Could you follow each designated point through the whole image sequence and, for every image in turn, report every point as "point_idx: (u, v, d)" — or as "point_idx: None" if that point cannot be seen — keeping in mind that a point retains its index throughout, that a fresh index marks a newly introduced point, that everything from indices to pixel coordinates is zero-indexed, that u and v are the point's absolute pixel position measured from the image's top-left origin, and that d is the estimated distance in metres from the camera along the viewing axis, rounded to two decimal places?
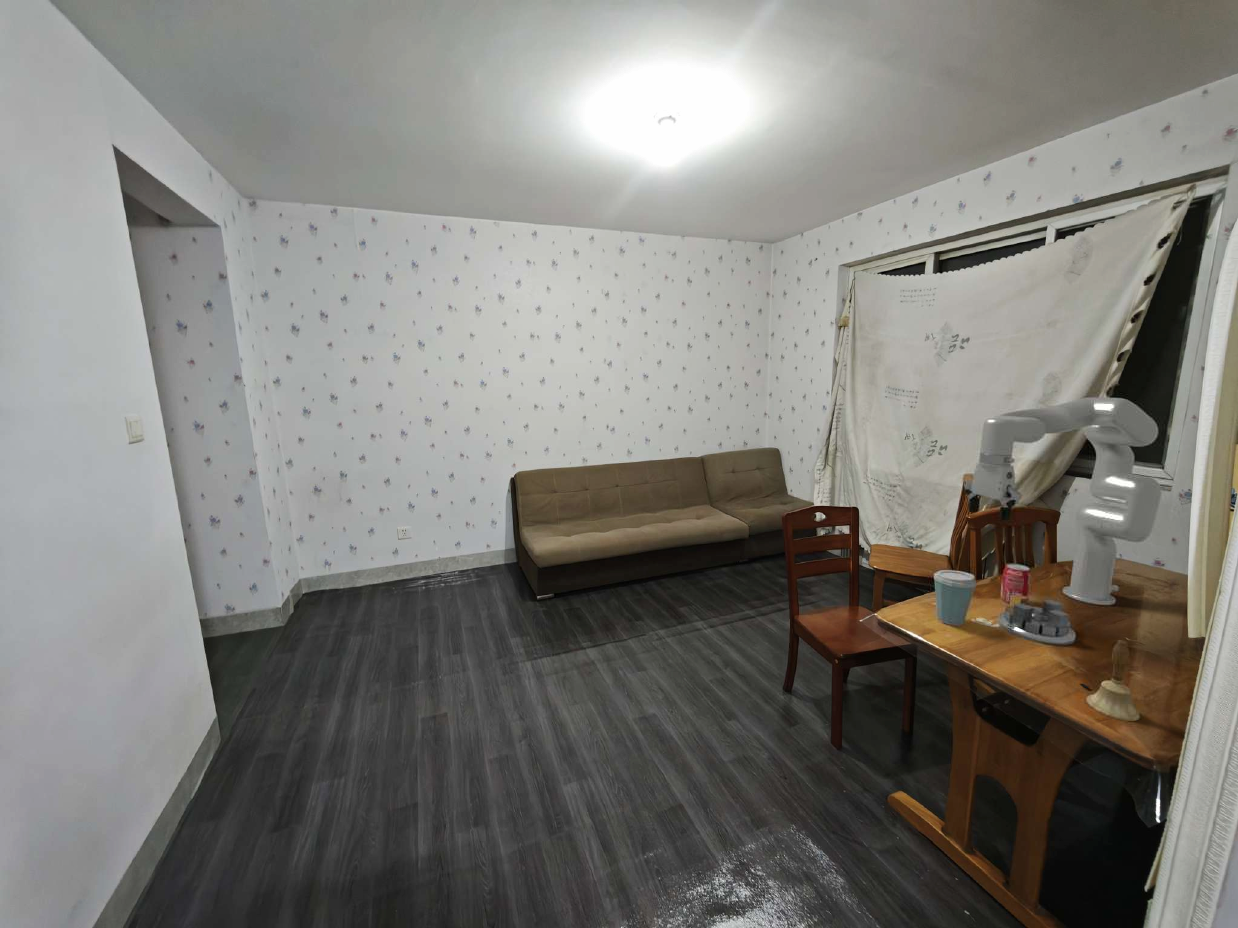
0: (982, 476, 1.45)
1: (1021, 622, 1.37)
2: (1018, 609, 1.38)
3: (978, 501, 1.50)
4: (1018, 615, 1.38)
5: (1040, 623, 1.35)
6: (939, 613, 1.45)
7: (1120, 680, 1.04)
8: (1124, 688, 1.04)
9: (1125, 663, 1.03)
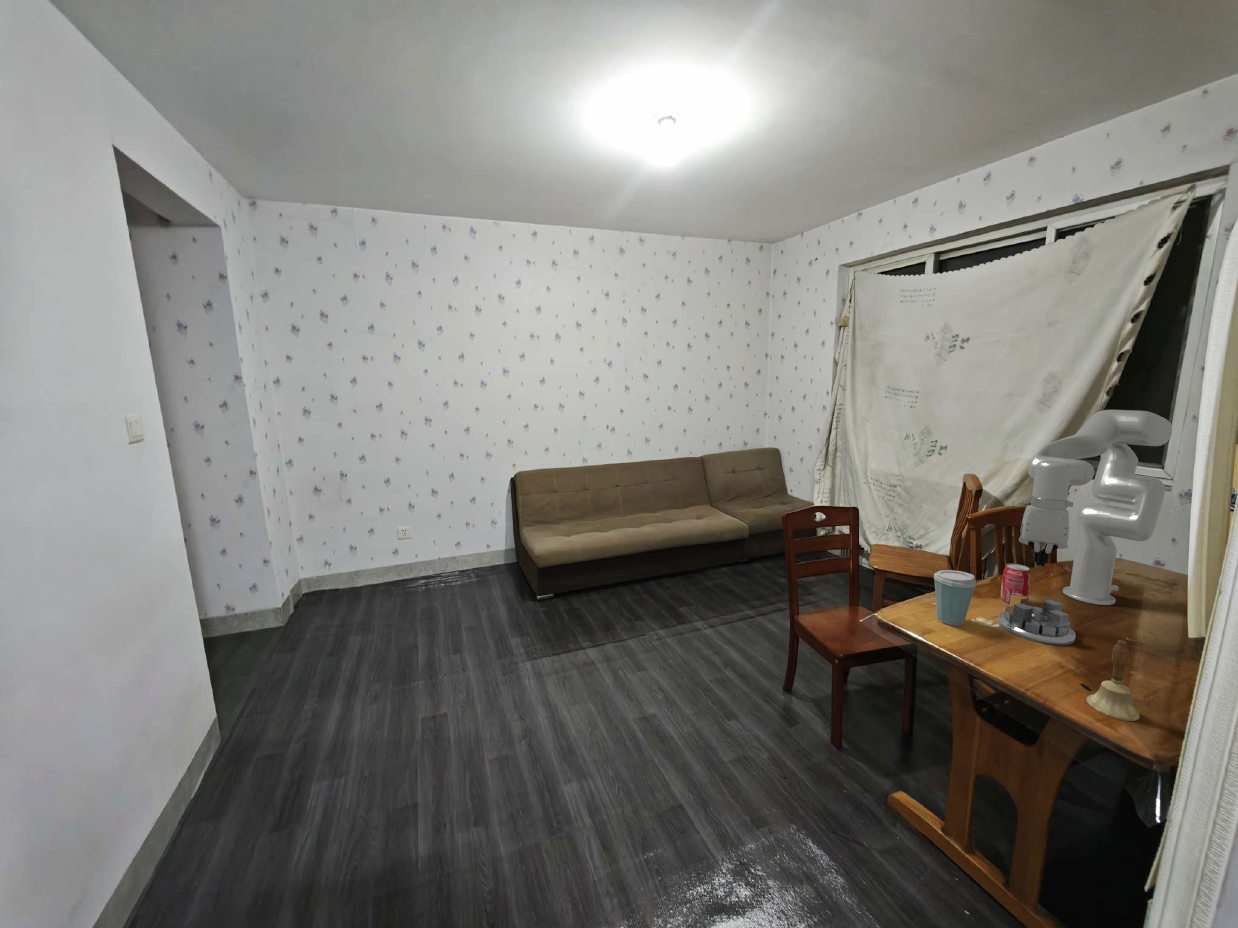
0: (1041, 522, 1.38)
1: (1021, 622, 1.37)
2: (1018, 609, 1.38)
3: None
4: (1018, 615, 1.38)
5: (1040, 623, 1.35)
6: (939, 613, 1.45)
7: (1120, 680, 1.04)
8: (1124, 688, 1.04)
9: (1125, 663, 1.03)
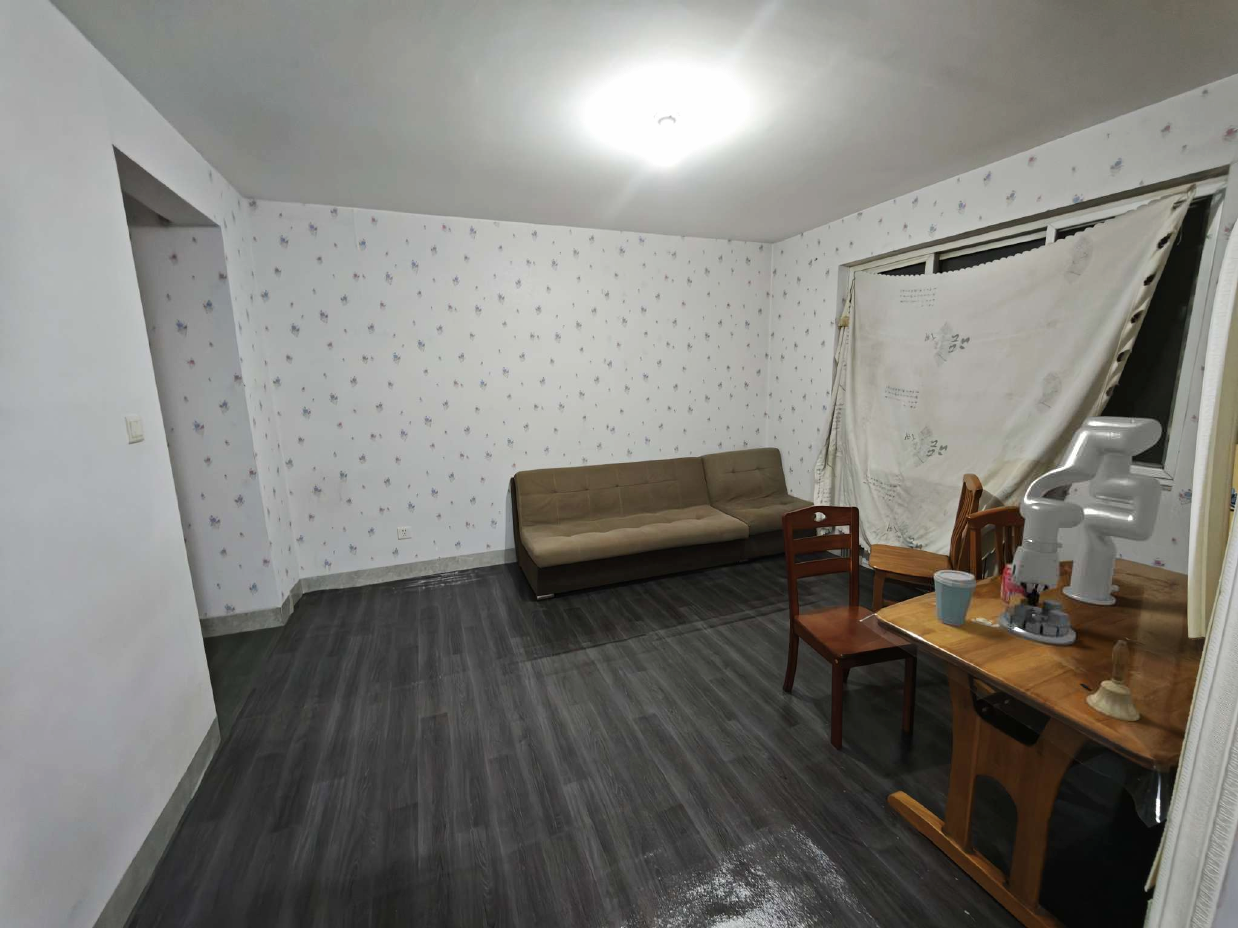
0: (1035, 564, 1.40)
1: (1021, 623, 1.37)
2: (1019, 609, 1.38)
3: None
4: (1019, 615, 1.38)
5: (1040, 623, 1.35)
6: (939, 613, 1.45)
7: (1120, 680, 1.04)
8: (1124, 688, 1.04)
9: (1125, 663, 1.03)
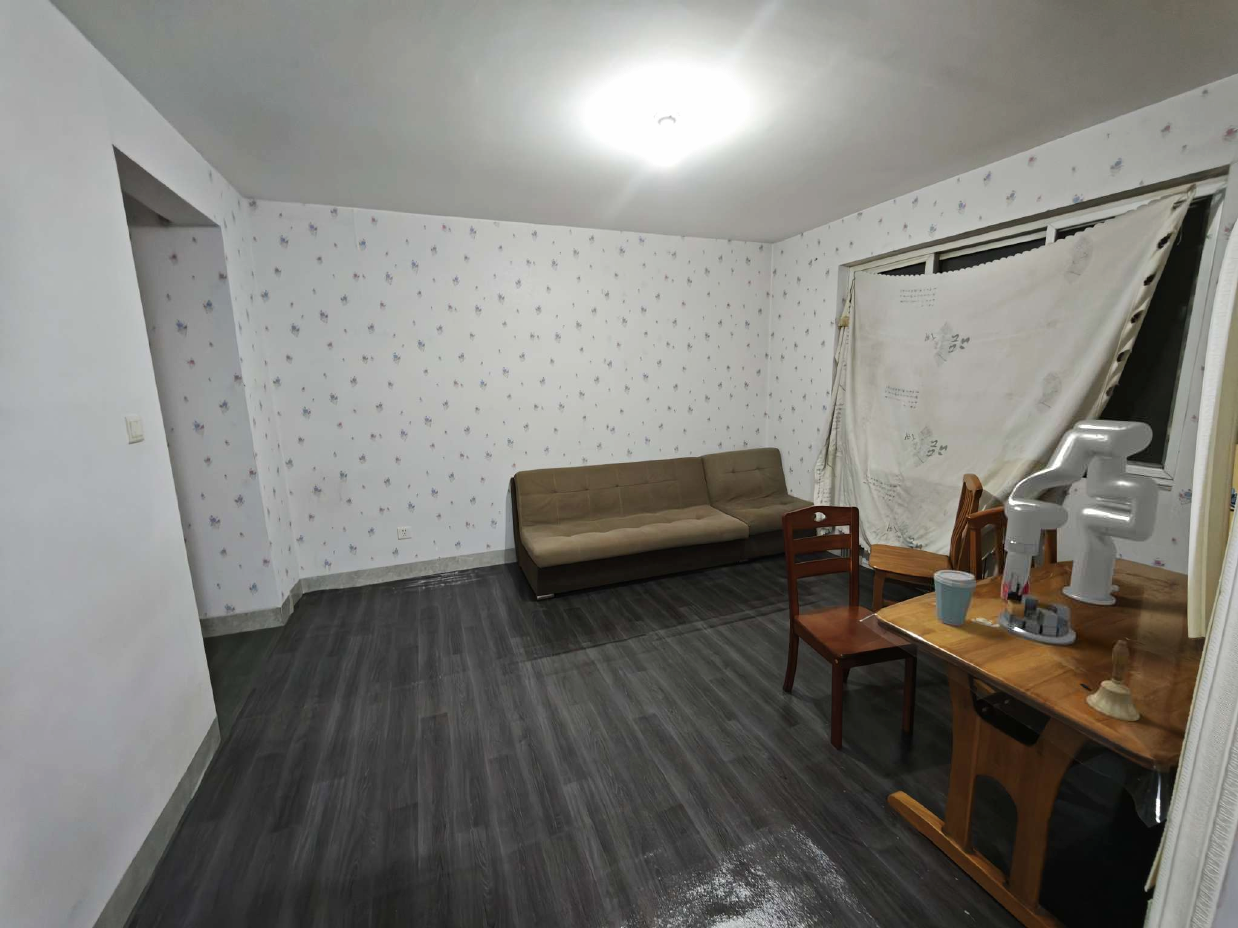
0: (1029, 566, 1.39)
1: (1054, 630, 1.33)
2: (1050, 617, 1.33)
3: None
4: (1050, 623, 1.33)
5: (1059, 623, 1.35)
6: (939, 613, 1.45)
7: (1120, 680, 1.04)
8: (1124, 688, 1.04)
9: (1125, 663, 1.03)
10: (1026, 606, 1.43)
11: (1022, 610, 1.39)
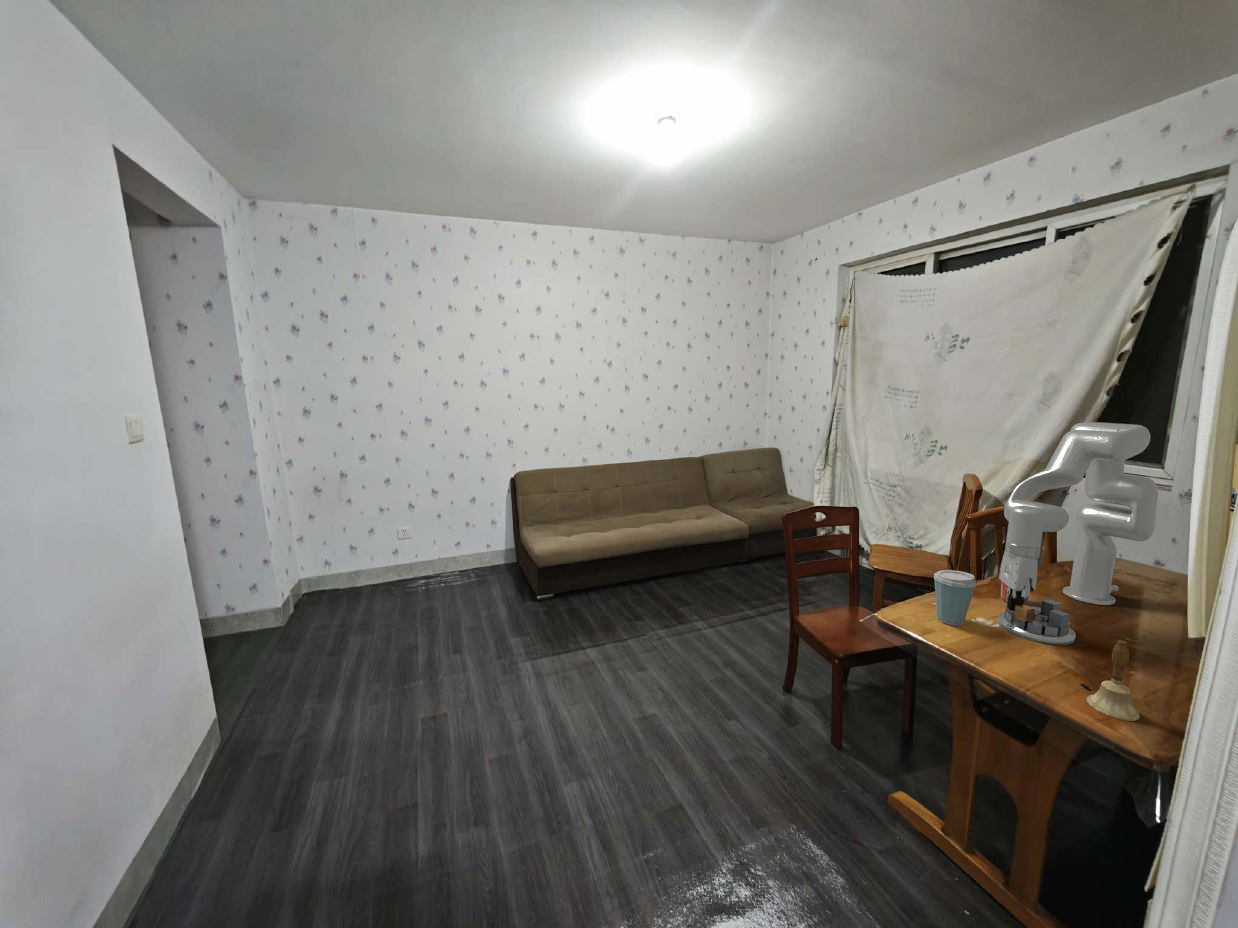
0: None
1: (1067, 629, 1.33)
2: (1065, 617, 1.33)
3: None
4: (1064, 623, 1.33)
5: None
6: (939, 613, 1.45)
7: (1120, 680, 1.04)
8: (1124, 688, 1.04)
9: (1125, 663, 1.03)
10: None
11: (1032, 614, 1.37)
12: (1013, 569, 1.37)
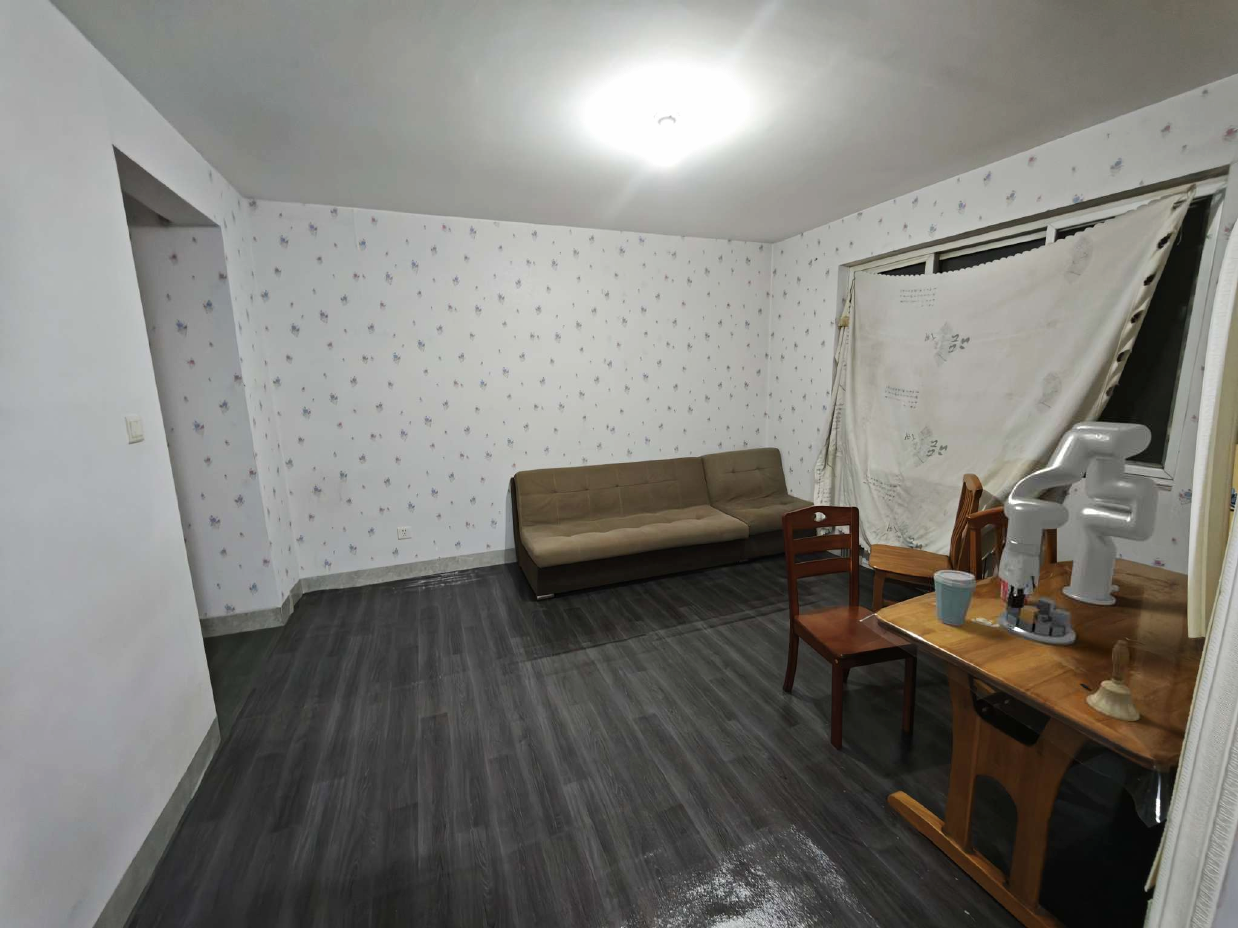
0: None
1: (1069, 627, 1.34)
2: (1068, 616, 1.33)
3: None
4: (1067, 622, 1.33)
5: None
6: (939, 613, 1.45)
7: (1120, 680, 1.04)
8: (1124, 688, 1.04)
9: (1125, 663, 1.03)
10: (1019, 608, 1.42)
11: (1037, 615, 1.36)
12: (1015, 567, 1.37)
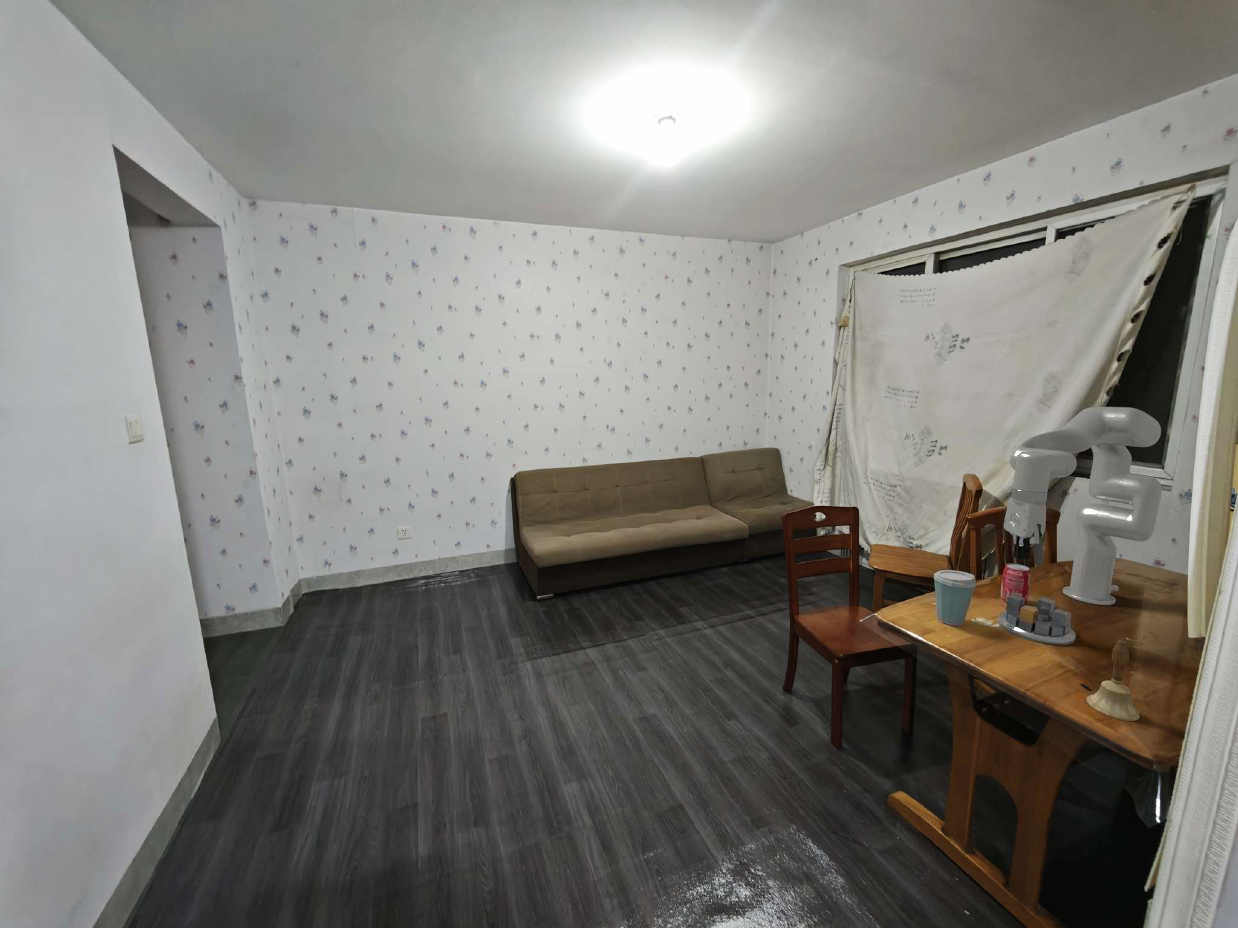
0: None
1: (1069, 627, 1.34)
2: (1068, 616, 1.33)
3: None
4: (1067, 622, 1.33)
5: None
6: (939, 613, 1.45)
7: (1120, 680, 1.04)
8: (1124, 688, 1.04)
9: (1125, 663, 1.03)
10: (1019, 608, 1.42)
11: (1037, 615, 1.36)
12: (1021, 516, 1.34)
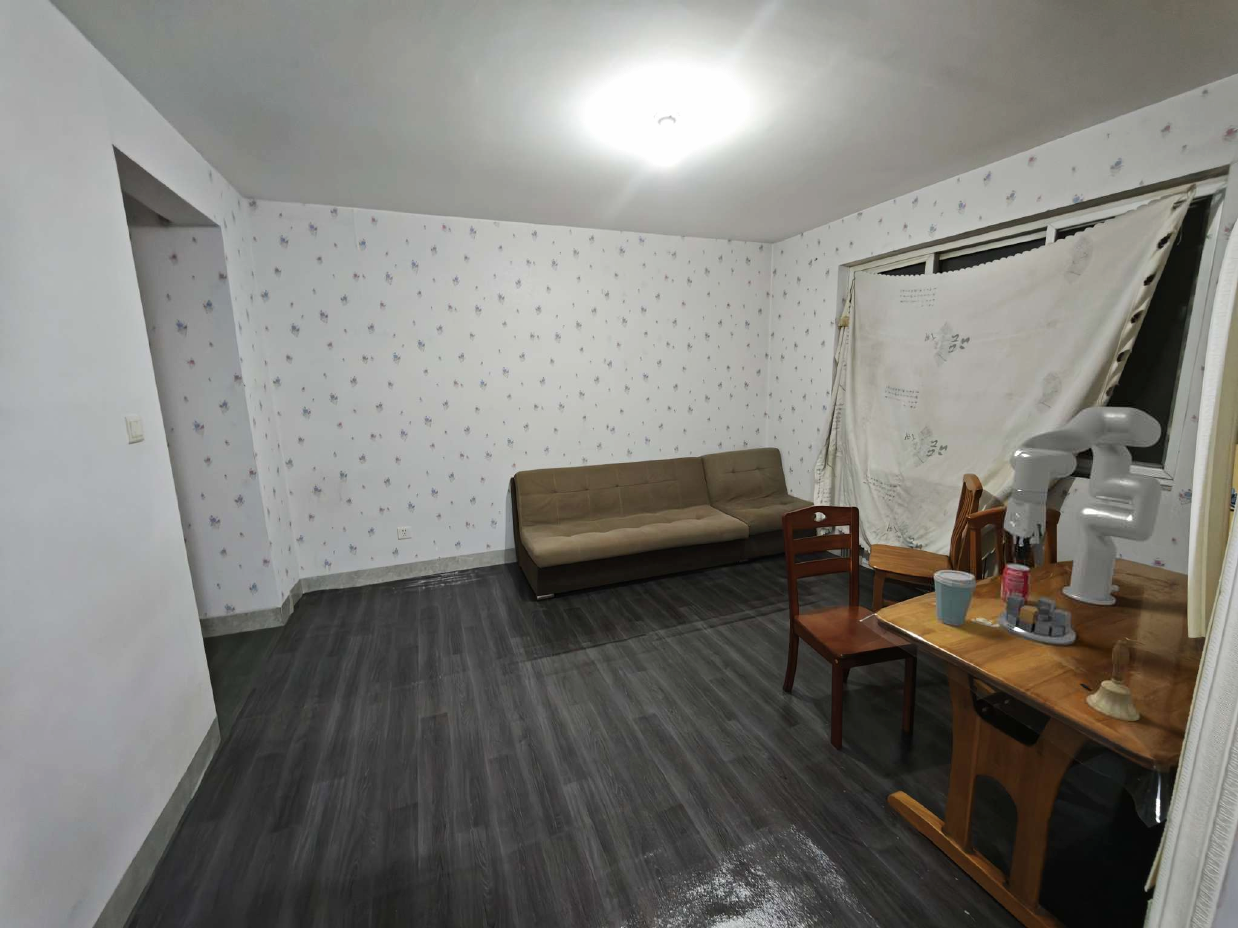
0: None
1: (1069, 627, 1.34)
2: (1068, 616, 1.33)
3: None
4: (1067, 622, 1.33)
5: None
6: (939, 613, 1.45)
7: (1120, 680, 1.04)
8: (1124, 688, 1.04)
9: (1125, 663, 1.03)
10: (1019, 608, 1.42)
11: (1037, 615, 1.36)
12: (1021, 516, 1.34)
